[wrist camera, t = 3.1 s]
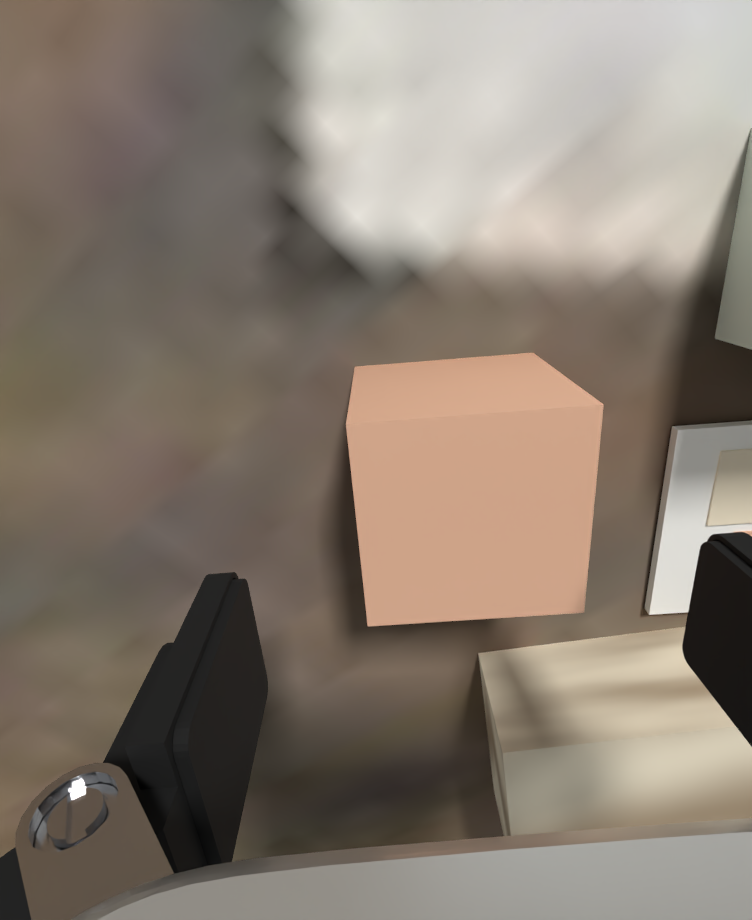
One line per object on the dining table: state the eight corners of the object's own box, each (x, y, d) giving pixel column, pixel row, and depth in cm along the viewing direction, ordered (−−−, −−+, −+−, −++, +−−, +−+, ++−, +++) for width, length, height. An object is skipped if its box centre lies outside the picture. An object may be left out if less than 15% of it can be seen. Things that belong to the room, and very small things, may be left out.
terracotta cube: (354, 366, 18) (345, 424, 12) (532, 352, 18) (603, 404, 12) (369, 519, 20) (367, 626, 15) (526, 508, 20) (583, 612, 14)
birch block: (477, 649, 23) (502, 752, 18) (688, 622, 22) (769, 722, 18) (493, 786, 26) (517, 901, 22) (675, 766, 26) (740, 880, 21)
